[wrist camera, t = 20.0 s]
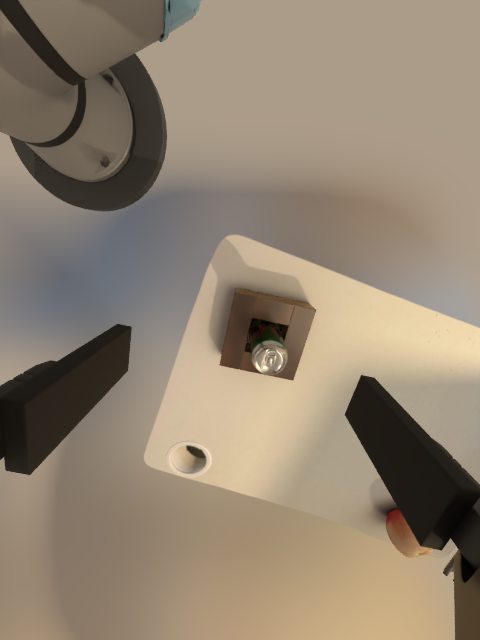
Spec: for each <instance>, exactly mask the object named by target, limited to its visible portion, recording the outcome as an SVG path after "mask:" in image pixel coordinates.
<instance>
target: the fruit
mask: <svg viewBox="0 0 480 640" xmlns="http://www.w3.org/2000/svg"><path fill="white" fill-rule="evenodd" d="M386 529H387V533H388V535H389V538H390V540H391V542H392V543H393V544H394V546H395V547H396V548H397V549H398V550H399V551H400V552H401V553H402V554H403V555H405V556H406V557H408V558H415V557H418V556H423V555H429V554H430V553H431V551H432V548H426V547H421V546H420V545H419V543H418V541H417V540H416V538H415V536H414V534H413V533H412V531H411V529H410V527H409V526H408V524H407V522H406V520H405V519H404V517H403V515H402V513H401V512H400V510H399V509H395V510H392V511H391V512H390V513H389V514H388V515H387V518H386Z"/></svg>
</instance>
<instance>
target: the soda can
mask: <svg viewBox="0 0 480 640" xmlns="http://www.w3.org/2000/svg"><path fill="white" fill-rule="evenodd" d="M250 345H251V361H252V363H253V365H254V367H255V368H256V369H257V370H258V371H260V372H261V373H263V374H266V375H274V374H277V373H279V372H280V371H282V370H283V369H284V367H285V365H286V363H287V361H288V352H287V349H286V346H285V344H284V341H283V338H282V336H281V333H280V331H279V328H278V325H277V324H276V323H274V322H269V321H265V320H260V319H257V320H255V321H254V322H253V323H252V325H251V328H250Z"/></svg>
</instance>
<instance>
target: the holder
mask: <svg viewBox="0 0 480 640" xmlns="http://www.w3.org/2000/svg"><path fill="white" fill-rule="evenodd" d="M315 312H316V309H315V308H314V307H313V306H312V305H310V304H308V303H304V302H299V301H295V300H290V299H286V298H281V297H277V296H272V295H268V294H263V293H259V292H254V291H250V290H245V289H241V288H236V291H235V296H234V300H233V305H232V310H231V314H230V319H229V324H228V328H227V333H226V338H225V342H224V347H223V352H222V356H221V361H220V365H221V366H225V367H230V368H235V369H240V370H245V371H250V372H254V373H259V374H263V373H261V372H260V371H258V370H257V369H256V368H255V367H254V365H253V363H252V361H251V345H250V343H246V341H247V337H248V333H249V329H250V325H251V321H252V318H256V319H260V320H265V321H269V322H274V323H279V324H283V327H282V331H281V336H282V338H283V341H284V344H285V346H286V349H287V352H288V361H287V363H286V365H285V367H284V369H283V370H282V371H280V372H279V373H277V374H274V375H269V376H274V377H279V378H284V379H288V380H293V379H294V376H295V373H296V370H297V367H298V364H299V361H300V358H301V355H302V352H303V349H304V346H305V343H306V340H307V336H308V333H309V330H310V327H311V324H312V321H313V318H314V315H315ZM264 375H266V374H264Z"/></svg>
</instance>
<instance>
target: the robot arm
mask: <svg viewBox="0 0 480 640" xmlns="http://www.w3.org/2000/svg"><path fill="white" fill-rule="evenodd" d="M200 2H201V0H0V132H3V133H5V134H7V135H10V136H12V137H14V138H16V139H19V140H21V141H23V142H25V143H26V144H27V145H28V146H29V147H30V148H31V149H32V150H33V151H34V152H35V153H37V154H38V155H39V156H40V157H41V158H42V159H43V160H44V161H45V162H46V163H48V164H49V165H50V166H51V167H53V168H54V169H56V170H57V171H59V172H60V173H62V174H64V175H66V176H69V177H71V178H74V179H77V180H80V181H84V182H101V181H105V180H108V179H110V178H112V177H114V176H115V175H117V174H118V173H119V172H120V171H121V170H122V169H123V168H124V167H125V165H126V164H127V162H128V161H129V159H130V157H131V154H132V152H133V149H134V144H135V138H136V122H135V116H134V111H133V108H132V104H131V102H130V99H129V97H128V95H127V93H126V91H125V89H124V87H123V86H122V84H121V83H120V81H119V80H118V79H117V78H116V76H115V75H114V74H113V73H112V71H111V70H110V69H109V67H111V66H113V65H115V64H116V63H118V62H120V61H122V60H124V59H125V58H127V57H129V56H131V55H133V54H134V53H136V52H138V51H140V50H142V49H143V48H145V47H147V46H149V45H150V44H152V43H154V42H156V41H158V40H159V41H160V42H162V41H164V40H166V39H167V37H168V35H169V33H170V32H172V31H173V30H175V29H177V28H178V27H180V26H181V25H183V24H184V23H186V22H187V21H189V20H190V19H192V18H193V17H194V15H195V14H196V13H197V11H198V9H199V5H200ZM130 340H131V327H130V326H125V325H120V324H117V325H115V326H114V327H112V328H110V329H109V330H107V331H105V332H104V333H102V334H101V335H99V336H97V337H96V338H94V339H93V340H91V341H89V342H88V343H86V344H85V345H83V346H81V347H80V348H78V349H77V350H75V351H73V352H72V353H70V354H68V355H67V356H65V357H64V358H62V359H60V360H59V361H57V362H56V361H48V362H45V363H41V364H38V365H36V366H34V367H32V368H31V369H29V370H27V371H25V372H24V373H23V374H20V375H18V376H16V377H15V378H14V379H13V380H9V381H8V382H6V383H4V384H2V385H1V386H0V460H1V459H2V458H3V457H4V459H5V469H6V471H11V472H16V473H22V474H27V475H30V474H31V473H32V472H33V471H34V470H35V469H36V468H37V467H38V466H39V465H40V464H41V463H42V462H43V461H44V459H46V457H47V456H48V455H49V454H50V453H51V452H52V451H53V450H54V449H55V448H56V447H57V446H58V445H59V443H60V442H61V441H62V440H63V439H64V438H65V437H66V436H67V435H68V434H69V433H70V432H71V431H72V430H73V429H74V427H75V426H76V425H77V424H78V423H79V422H80V421H81V420H82V419H83V418H84V417H85V416H86V415H87V414H88V413H89V412H90V410H91V409H92V408H93V407H94V406H95V405H96V404H97V403H98V402H99V401H100V400H101V399H102V398H103V397H104V396H105V395H106V393H107V392H108V391H109V390H110V389H111V388H112V387H113V386H114V385H115V384H116V383H117V382H118V381H119V380H120V379H121V377H122V376H123V375H124V374H125V373H126V372H127V371H128V364H129V351H130ZM345 416H346V418H347V419H348V421H349V423H350V425H351V426H352V428H353V430H354V432H355V433H356V435H357V437H358V439H359V440H360V442H361V444H362V446H363V447H364V449H365V451H366V453H367V454H368V456H369V458H370V459H371V461H372V463H373V465H374V466H375V468H376V470H377V472H378V473H379V475H380V477H381V479H382V480H383V482H384V484H385V486H386V487H387V489H388V491H389V493H390V494H391V496H392V498H393V500H394V501H395V503H396V505H397V506H398V508H399V510H400V512H401V513H402V515H403V517H404V519H405V520H406V522H407V524H408V526H409V527H410V529H411V531H412V533H413V534H414V536H415V538H416V540H417V541H418V543H419V545H420V546H421V547H426V548H432V549H437V550H442V549H443V548H444V546H445V545H446V544H447V542H448V541H449V539H450V538H451V539H452V540H453V542H454V543H455V545H456V546H457V548H458V549H459V550H458V551H457V553H456V554H455V555H454V556H453V558H452V559H451V560H450V562H449V563H448V564H447V566H446V567H445V569H444V572H443V573H444V574H445V575H446V576H447V575H448V574H449V573H450V572H454V580H453V581H454V599H455V640H480V485H479V484H478V482H477V481H476V480H475V479H474V478H473V477H472V476H471V475H470V474H469V473H468V472H467V471H466V470H465V469H464V468H462V467H461V465H460V464H459V463H458V462H457V461H456V460H455V459H453V457H452V456H451V455H450V454H449V453H448V451H447V450H446V449H445V448H444V447H443V446H442V445H440V444H439V443H438V442H436V441H435V440H434V439H432V438H431V437H430V436H429V435H428V434H427V433H426V432H425V431H424V430H423V429H422V428H421V427H420V425H419V424H418V423H417V422H416V421H415V420H414V419H413V418H412V417H411V416H410V415H409V414H408V413H407V412H406V411H405V410H404V409H403V408H402V407H401V405H400V404H399V403H398V402H397V401H396V400H395V399H394V398H393V397H392V396H391V395H390V394H389V393H388V392H387V391H386V390H385V389H384V388H383V387H382V386H381V384H380V383H379V382H378V381H377V380H376V379H375V378H372V377H368V376H363V375H361V377H360V379H359V382H358V384H357V387H356V389H355V391H354V394H353V396H352V398H351V401H350V403H349V406H348V408H347V410H346V413H345Z"/></svg>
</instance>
